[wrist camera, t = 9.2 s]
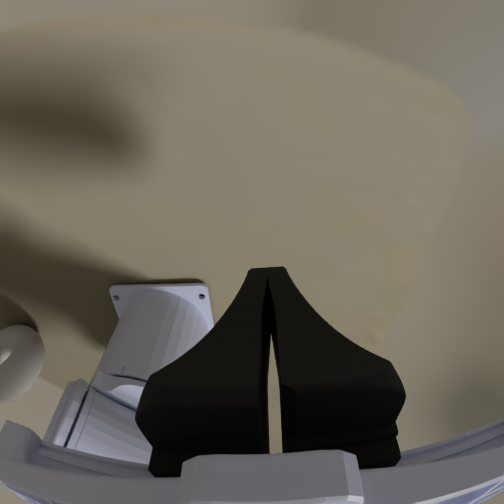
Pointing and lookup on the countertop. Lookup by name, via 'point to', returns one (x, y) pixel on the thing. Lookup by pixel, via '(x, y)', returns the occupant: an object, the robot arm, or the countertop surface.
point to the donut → (19, 360)
